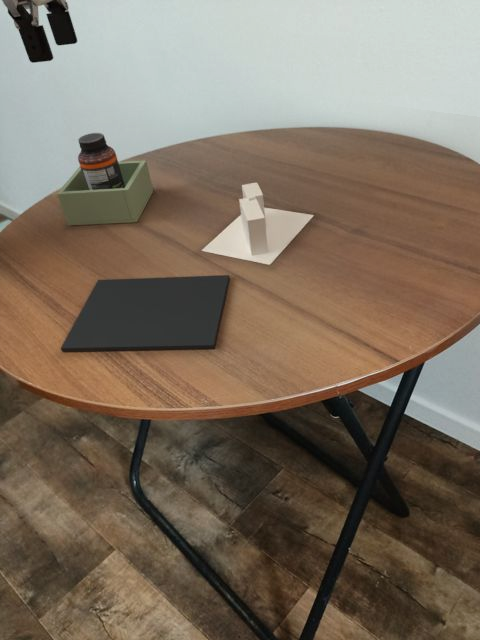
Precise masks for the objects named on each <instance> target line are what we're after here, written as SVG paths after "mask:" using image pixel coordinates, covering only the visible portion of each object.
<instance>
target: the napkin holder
mask: <svg viewBox="0 0 480 640" xmlns="http://www.w3.org/2000/svg"><path fill="white" fill-rule="evenodd" d="M241 191H242V192H241V193H242V198H238V200H239V210H240V215H239V216H237V217H236V218H235V219H234V220H233V221H232V222H231V223H230V224H229V225H228V226H227V227H225V228H224V229H223V230H222V231H220V233H219V234H218V235H216V237H214V238H213V239H212V240H211V241H210V242H209V243H208V244H206V245H205V246H204V247H203V248H202V249H201V250H200V251H201V252H204V253H210V254H215V255H220V256H224V257H230V258H234V259H238V260H243V261H247V262H255V263H257V264H258V263H259V264H263V265H268V266H270V265H271V264H272V263H273V262H275V260H276V259H277V258H278V257H279V255H280V254H281V253H282V252H283V251H284V250H285V249H286V248H287V247H288V245H289V244H290V243H291V242H292V241H293V240H294V239H295V237H296V236H298V234H299V233H300V232H301V231H302V230H303V228H304V227H305V226H306V225H308V223H309V222H310V221H311V220H312V218H314V216H315V215H314V214H308V213H303V212H296V211H290V210H284V209H276V208H271V207H265V204H264V203H265V202H264V194H263V191H262V189H261V187H260V186H259V184H258V182H251V183H244V184H241Z"/></svg>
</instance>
